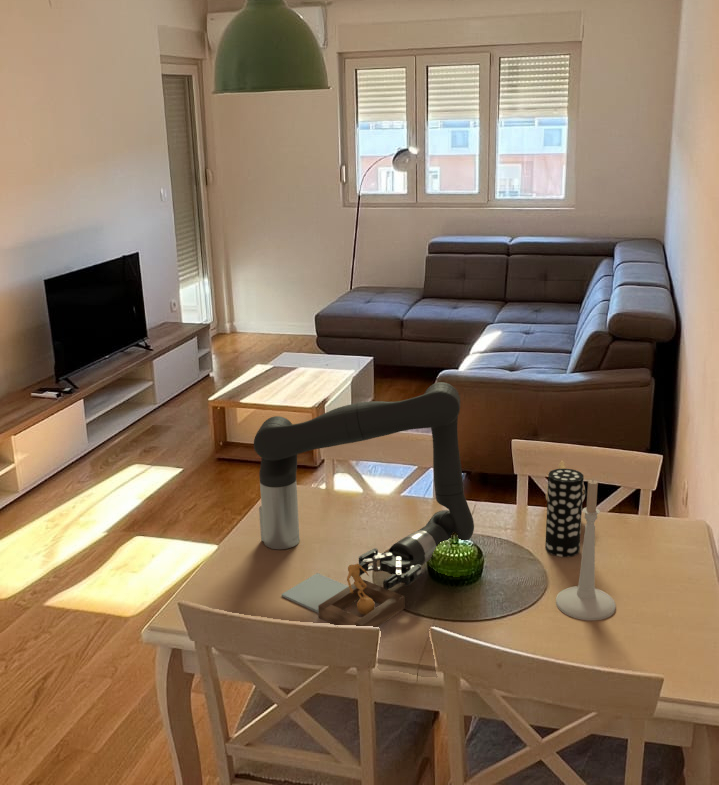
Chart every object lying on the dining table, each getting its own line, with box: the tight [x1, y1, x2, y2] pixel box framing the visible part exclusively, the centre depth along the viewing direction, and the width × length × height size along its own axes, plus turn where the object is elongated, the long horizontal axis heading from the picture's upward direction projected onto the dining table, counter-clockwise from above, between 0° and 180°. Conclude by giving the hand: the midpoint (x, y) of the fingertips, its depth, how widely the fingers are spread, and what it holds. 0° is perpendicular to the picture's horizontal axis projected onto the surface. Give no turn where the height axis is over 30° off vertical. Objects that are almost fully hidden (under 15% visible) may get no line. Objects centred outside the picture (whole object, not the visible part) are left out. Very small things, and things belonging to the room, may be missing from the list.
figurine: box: [346, 563, 376, 616], centre depth 188 cm, size 8×6×12 cm
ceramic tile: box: [281, 572, 349, 614], centre depth 197 cm, size 12×12×1 cm
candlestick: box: [555, 479, 617, 621], centre depth 186 cm, size 13×13×30 cm
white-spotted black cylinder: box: [544, 468, 585, 558], centre depth 212 cm, size 8×8×20 cm
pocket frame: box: [318, 578, 405, 628], centre depth 189 cm, size 12×14×3 cm
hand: (369, 579), depth 189 cm, fingers open, 8 cm apart
